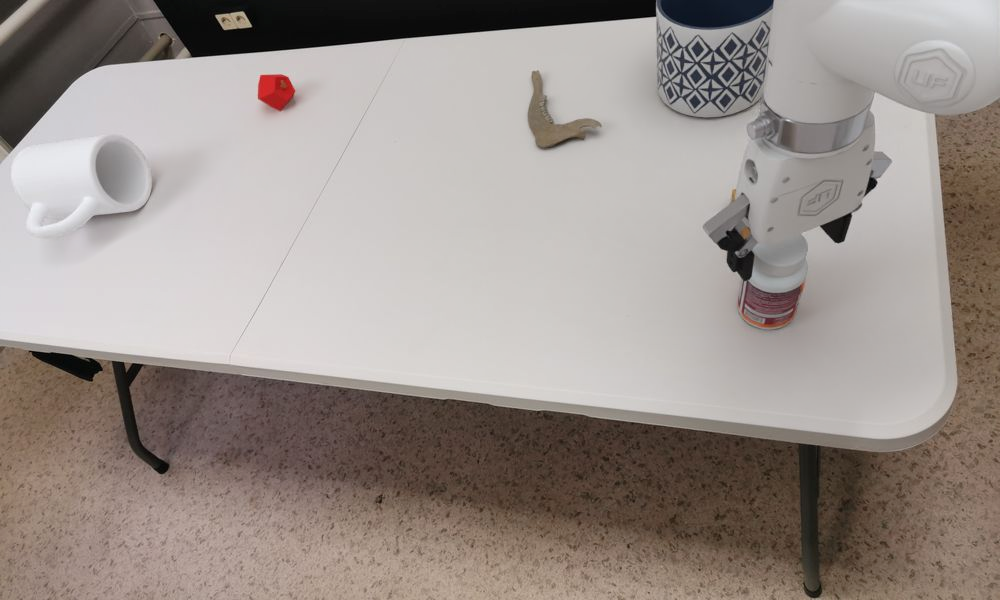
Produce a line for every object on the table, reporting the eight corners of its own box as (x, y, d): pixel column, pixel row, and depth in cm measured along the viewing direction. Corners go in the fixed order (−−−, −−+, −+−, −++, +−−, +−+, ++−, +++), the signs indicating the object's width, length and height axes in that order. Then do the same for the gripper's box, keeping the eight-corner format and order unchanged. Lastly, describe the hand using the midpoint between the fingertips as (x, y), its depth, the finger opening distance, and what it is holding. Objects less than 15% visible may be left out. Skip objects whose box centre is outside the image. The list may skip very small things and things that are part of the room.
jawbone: (553, 165, 91) (550, 155, 89) (492, 101, 103) (488, 91, 102) (604, 132, 91) (602, 122, 90) (537, 73, 104) (534, 63, 102)
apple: (239, 86, 112) (260, 76, 107) (265, 69, 116) (287, 59, 111) (262, 120, 116) (283, 112, 110) (287, 103, 119) (309, 95, 114)
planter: (773, 116, 86) (789, 21, 75) (656, 124, 90) (655, 36, 79) (764, 47, 95) (777, -47, 83) (658, 58, 99) (656, -31, 87)
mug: (91, 182, 115) (34, 128, 105) (163, 173, 111) (112, 117, 101) (39, 263, 104) (-29, 213, 94) (118, 256, 101) (55, 203, 90)
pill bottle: (804, 324, 67) (825, 261, 58) (748, 337, 68) (760, 276, 59) (782, 280, 71) (798, 215, 62) (728, 293, 72) (737, 230, 63)
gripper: (734, 183, 45) (723, 312, 58) (954, 94, 45) (892, 244, 58) (685, 126, 50) (685, 258, 63) (884, 45, 50) (842, 195, 63)
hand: (784, 251), depth 61 cm, fingers open, 9 cm apart
